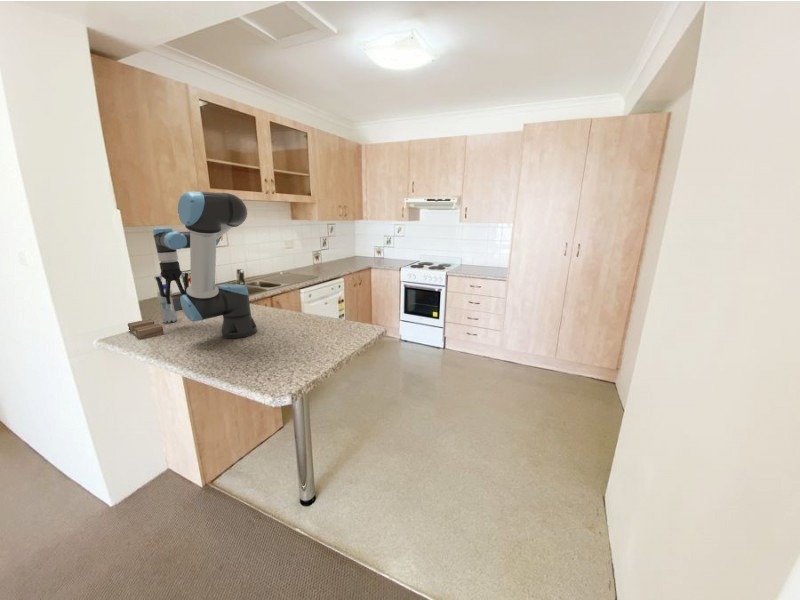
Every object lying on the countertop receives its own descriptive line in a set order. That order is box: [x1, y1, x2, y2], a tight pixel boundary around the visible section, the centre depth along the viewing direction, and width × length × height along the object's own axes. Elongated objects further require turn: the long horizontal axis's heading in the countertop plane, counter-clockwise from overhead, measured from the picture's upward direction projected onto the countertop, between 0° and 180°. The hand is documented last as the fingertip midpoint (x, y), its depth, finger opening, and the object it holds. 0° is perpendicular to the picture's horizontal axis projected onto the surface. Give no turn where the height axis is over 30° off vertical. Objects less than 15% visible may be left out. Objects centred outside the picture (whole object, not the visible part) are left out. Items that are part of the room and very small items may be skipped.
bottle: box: [157, 283, 178, 324], centre depth 168 cm, size 7×7×20 cm
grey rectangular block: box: [170, 292, 183, 312], centre depth 157 cm, size 4×4×8 cm
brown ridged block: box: [127, 318, 165, 340], centre depth 154 cm, size 18×9×4 cm, turn 52°
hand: (178, 309), depth 158 cm, fingers closed on grey rectangular block, 4 cm apart
